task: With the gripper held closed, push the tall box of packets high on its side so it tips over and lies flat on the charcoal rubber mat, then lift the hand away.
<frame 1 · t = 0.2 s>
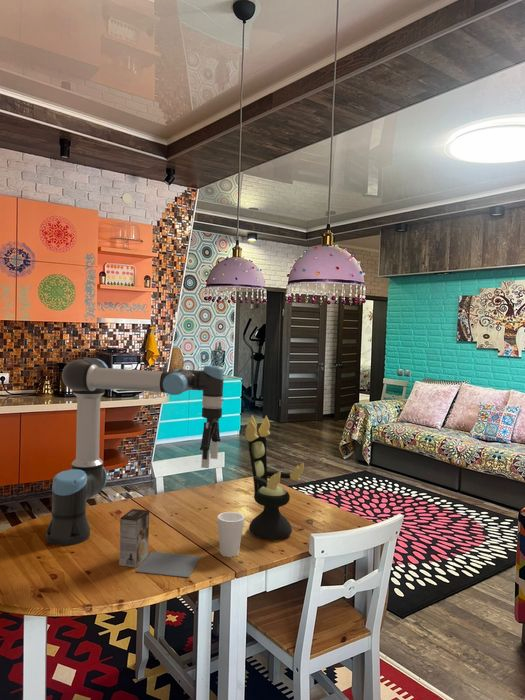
hand: (209, 463, 196), 28 cm above the table, tool pointing down, fingers open, 13 cm apart
foam cup: (229, 553, 182), on the table
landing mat: (169, 564, 172), on the table
coffee box: (133, 561, 173), on the table
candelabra: (265, 532, 203), on the table
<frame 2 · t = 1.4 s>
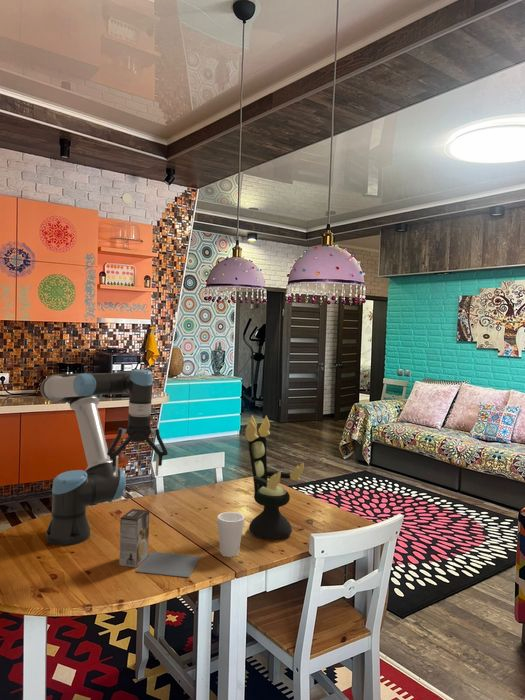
hand: (136, 475, 180), 27 cm above the table, tool pointing down, fingers open, 13 cm apart
nothing on the table moved.
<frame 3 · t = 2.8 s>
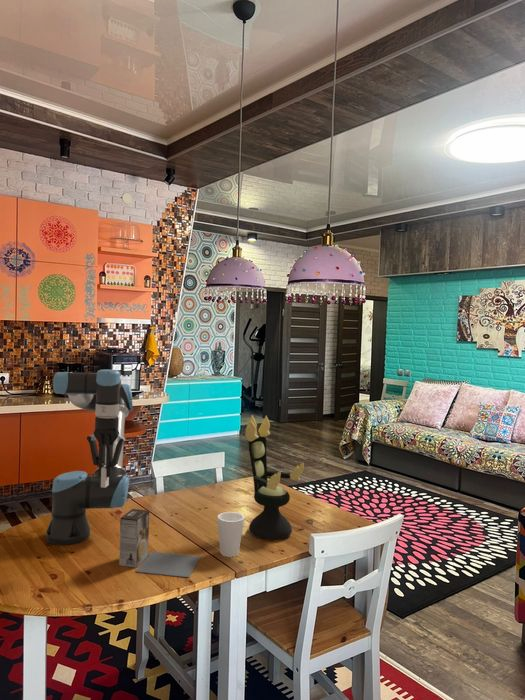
hand: (104, 486, 174), 24 cm above the table, tool pointing down, fingers closed
nothing on the table moved.
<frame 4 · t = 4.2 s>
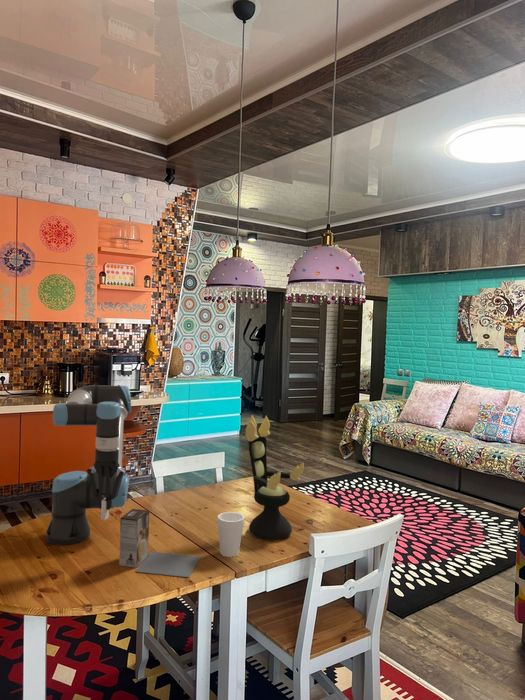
hand: (104, 518, 174), 13 cm above the table, tool pointing down, fingers closed
nothing on the table moved.
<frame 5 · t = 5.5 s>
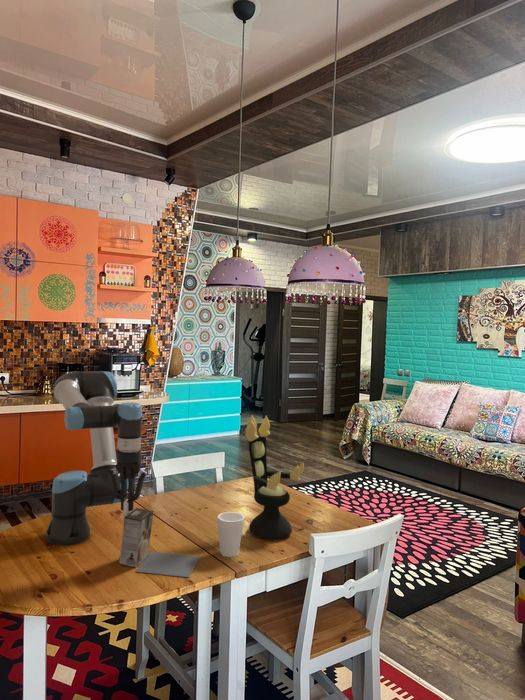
hand: (126, 520, 173), 14 cm above the table, tool pointing down, fingers closed
coffee box: (133, 560, 173), on the table, touching gripper
everything else where it was.
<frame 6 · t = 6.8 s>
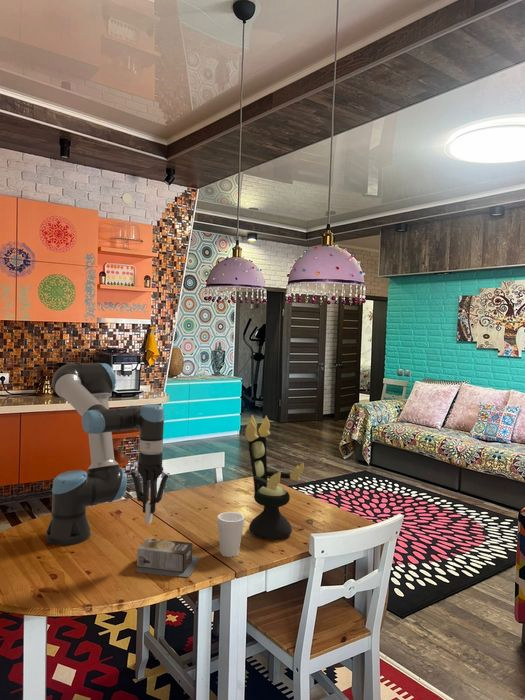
hand: (148, 522, 172), 14 cm above the table, tool pointing down, fingers closed
coffee box: (141, 551, 172), point 4 cm above the table, touching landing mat
everything else where it was.
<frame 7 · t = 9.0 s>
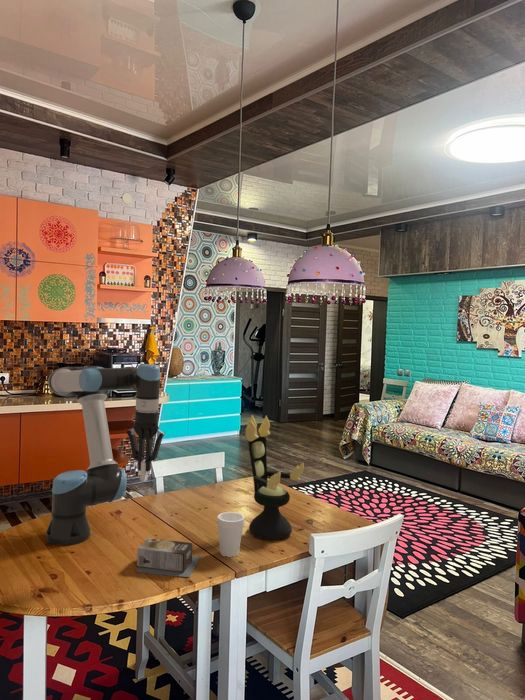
hand: (143, 480, 175), 27 cm above the table, tool pointing down, fingers closed
nothing on the table moved.
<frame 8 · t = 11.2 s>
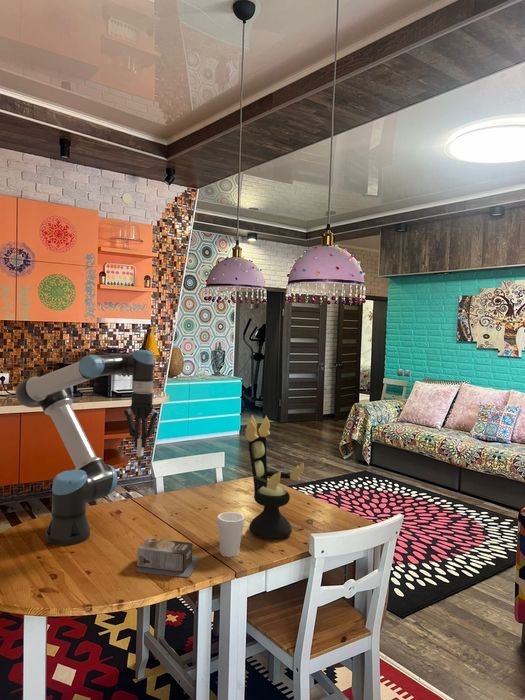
hand: (140, 455, 192), 30 cm above the table, tool pointing down, fingers closed
nothing on the table moved.
at the end: coffee box tilted 90°; coffee box touching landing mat; coffee box inside the target area (3.3 cm from its centre), point 3.5 cm above the table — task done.
